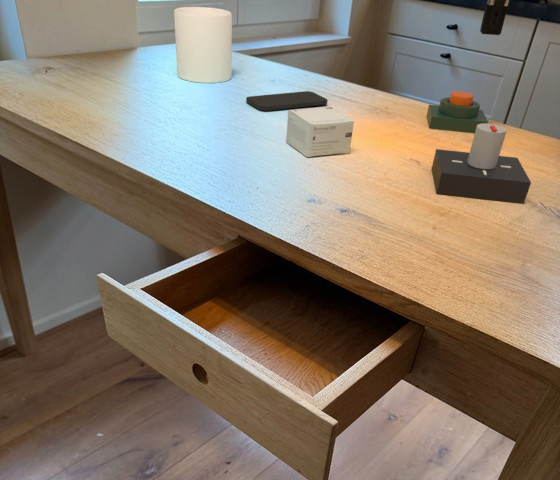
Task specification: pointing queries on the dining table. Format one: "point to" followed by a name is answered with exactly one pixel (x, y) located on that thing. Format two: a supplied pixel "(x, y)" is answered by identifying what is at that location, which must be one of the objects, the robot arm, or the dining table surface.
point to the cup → (203, 44)
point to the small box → (319, 131)
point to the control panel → (479, 178)
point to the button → (461, 98)
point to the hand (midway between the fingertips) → (490, 33)
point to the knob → (486, 146)
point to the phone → (286, 100)
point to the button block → (455, 117)
